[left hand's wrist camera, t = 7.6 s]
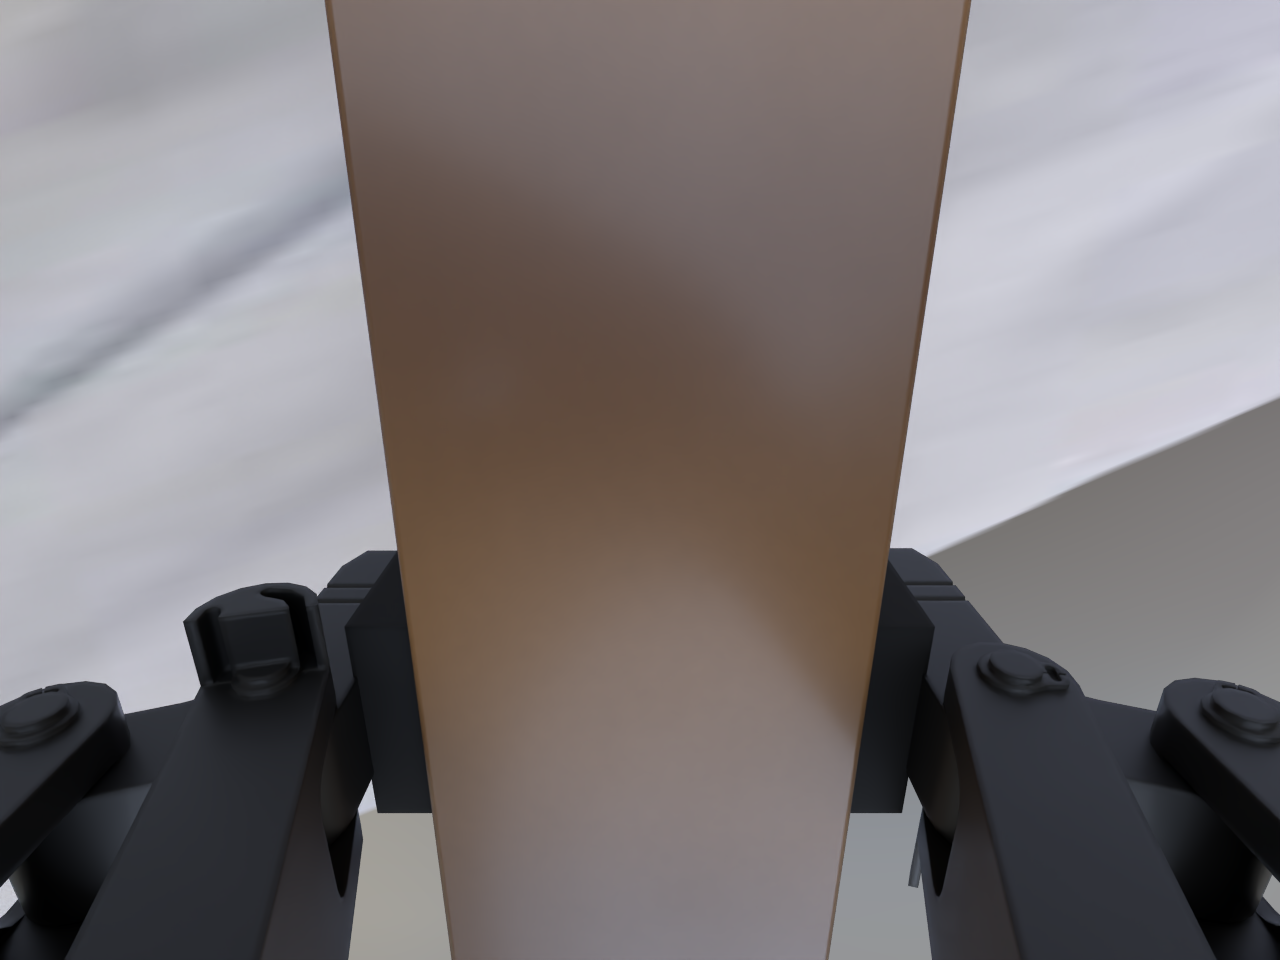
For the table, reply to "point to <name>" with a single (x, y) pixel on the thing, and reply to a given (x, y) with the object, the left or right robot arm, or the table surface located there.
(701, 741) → the post
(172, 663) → the table surface
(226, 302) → the table surface
